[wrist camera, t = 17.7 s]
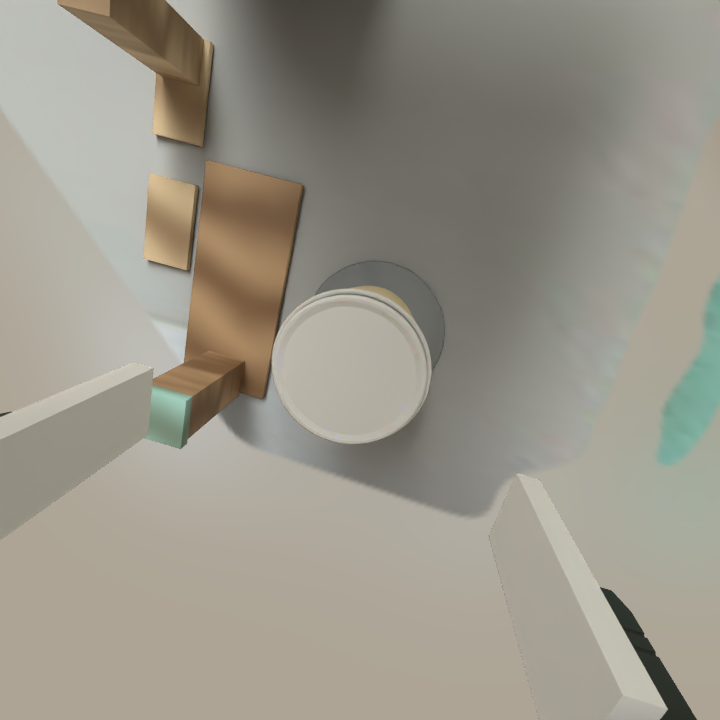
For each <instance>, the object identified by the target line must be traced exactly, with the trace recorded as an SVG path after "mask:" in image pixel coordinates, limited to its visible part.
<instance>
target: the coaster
mask: <svg viewBox="0 0 720 720" xmlns="http://www.w3.org/2000/svg"><path fill="white" fill-rule="evenodd" d="M359 286H377V287H381V288H385V289H387V290H389V291H391V292H393V293H395V294H396V295H397V296H398V297H400V298H401V299H402V300H403V302H404V303H405V304H406V305H407V307H408V308H409V310H410V312H411V314H412V316H413V318H414V320H415V322H416V323H417V325H418V326H419V328H420V330H421V331H422V333H423V335H424V337H425V340H426V342H427V345H428V348H429V351H430V357H431V366H432V369H433V367H434V366H435V364H436V362H437V360H438V358H439V356H440V353H441V350H442V346H443V342H444V320H443V315H442V312H441V308H440V306H439V303H438V301H437V299H436V297H435V296H434V294H433V292H432V291H431V289H430V288H429V287H428V286H427V285H426V284H425V282H423V281H422V280H421V279H420V278H419V277H418V276H416V275H415V274H414V273H412V272H411V271H409V270H407V269H405V268H403V267H401V266H398V265H395V264H391V263H386V262H376V261H372V262H363V263H358V264H354V265H351V266H349V267H346V268H344V269H342V270H340V271H338V272H337V273H335V274H334V275H332V276H331V277H330V278H329V279H328V280H327V281H326V282H325V283H323V285H322V286H321V287H320V288H319V290H318V291H317V293H316V294H315V296H316V295H318V294H321V293H324V292H327V291H331V290H337V289H348V288H353V287H359Z"/></svg>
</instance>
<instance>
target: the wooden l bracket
mask: <svg viewBox="0 0 720 720" xmlns="http://www.w3.org/2000/svg"><path fill="white" fill-rule="evenodd" d="M302 192H303V185H302V184H298V183H294V182H290V181H286V180H282V179H278V178H275V177H271V176H267V175H263V174H259V173H255V172H251V171H248V170H244V169H240V168H236V167H232V166H228V165H224V164H221V163H217V162H213V161H209V160H206V167H205V176H204V185H203V194H202V203H201V212H200V221H199V230H198V240H197V249H196V258H195V267H194V276H193V285H192V294H191V303H190V312H189V321H188V330H187V339H186V349H185V358H184V363H183V364H181V365H179V366H177V367H176V368H174V369H172V370H170V371H168V372H166V373H164V374H162V375H160V376H158V377H156V378H154V379H153V381H152V394H151V406H150V418H149V430H148V435H147V436H146V437H144V438H145V439H149V440H152V441H155V442H159V443H162V444H165V445H169V446H172V447H175V448H179V449H181V448H182V447H183V446H184V445H186V444H187V440H188V438H190V437H191V436H192V435H193V434H194V433H195V432H196V431H198V430H199V429H200V428H201V427H202V426H203V425H205V424H206V423H207V422H208V421H209V420H210V419H212V418H213V417H214V416H215V415H216V414H218V413H219V412H220V411H221V410H222V409H223V408H225V407H226V406H227V405H228V404H229V403H230V402H232V401H233V400H234V399H235V398H236V397H237V396H239V394H240V393H243V394H246V395H250V396H253V397H257V398H260V399H263V398H264V396H265V390H266V385H267V380H268V374H269V369H270V364H271V358H272V352H273V346H274V342H275V337H276V331H277V326H278V321H279V315H280V310H281V305H282V299H283V294H284V288H285V283H286V278H287V272H288V267H289V262H290V256H291V251H292V245H293V240H294V235H295V229H296V224H297V219H298V213H299V208H300V202H301V197H302Z"/></svg>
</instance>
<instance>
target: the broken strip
mask: <svg viewBox="0 0 720 720" xmlns="http://www.w3.org/2000/svg"><path fill="white" fill-rule="evenodd" d="M58 4H59V5H60V6H61V7H63V8H64V9H66V10H67V11H69V12H70V13H71V14H73V15H74V16H76V17H77V18H79V19H80V20H81V21H83V22H84V23H86V24H87V25H89V26H90V27H92V28H93V29H94V30H96V31H97V32H99V33H100V34H102V35H103V36H104V37H106V38H107V39H109V40H110V41H112V42H113V43H114V44H116V45H117V46H119V47H120V48H122V49H123V50H124V51H126V52H127V53H129V54H130V55H132V56H133V57H134V58H136V59H137V60H139V61H140V62H142V63H143V64H144V65H146V66H147V67H149V68H150V69H152V70H153V71H154V72H156V86H155V101H154V115H153V130H152V133H153V134H155V135H159V136H163V137H166V138H170V139H174V140H178V141H182V142H186V143H190V144H194V145H197V146H201V147H203V139H204V130H205V121H206V111H207V102H208V92H209V83H210V74H211V64H212V55H213V44H212V43H211V42H210V41H207V40H204V39H203V38H202V37H201V36H200V35H199V34H198V33H197V32H196V31H195V30H194V29H193V28H192V27H191V26H190V25H189V24H188V23H187V22H186V21H185V20H184V19H183V18H182V17H181V16H180V15H179V14H178V13H177V12H176V11H175V10H174V9H173V8H172V7H171V6H170V5H169V4H168V3H167V2H166V1H165V0H58ZM197 196H198V186H196V185H192V184H188V183H184V182H181V181H177V180H173V179H169V178H165V177H162V176H158V175H154V174H149V188H148V203H147V217H146V232H145V247H144V259H147V260H151V261H154V262H158V263H162V264H165V265H169V266H173V267H176V268H180V269H183V270H190V262H191V252H192V243H193V233H194V224H195V215H196V205H197Z"/></svg>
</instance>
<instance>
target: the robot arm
mask: <svg viewBox="0 0 720 720" xmlns="http://www.w3.org/2000/svg"><path fill="white" fill-rule="evenodd" d="M153 369H154V368H152V367H148V366H145V365H142V364H138V363H134V362H133V363H130V364H128V365H125V366H123V367H121V368H118V369H116V370H113V371H111V372H108V373H106V374H104V375H101V376H99V377H96V378H94V379H92V380H89V381H87V382H84V383H82V384H80V385H77V386H75V387H72V388H70V389H67V390H65V391H62V392H60V393H58V394H55V395H53V396H51V397H48V398H46V399H43V400H41V401H38V402H36V403H33V404H31V405H28V406H26V407H24V408H21V409H19V410H16V411H14V412H7V413H2V414H0V540H1V539H3V538H4V537H6V536H7V535H8V534H10V533H11V532H12V531H14V530H15V529H17V528H18V527H20V526H21V525H22V524H24V523H25V522H27V521H28V520H29V519H31V518H32V517H34V516H35V515H36V514H38V513H39V512H41V511H42V510H43V509H45V508H46V507H48V506H49V505H51V504H52V503H53V502H55V501H56V500H58V499H59V498H60V497H62V496H63V495H64V494H66V493H67V492H69V491H70V490H71V489H73V488H74V487H76V486H77V485H79V484H80V483H81V482H82V481H84V480H85V479H87V478H88V477H90V476H91V475H92V474H94V473H95V472H97V471H98V470H100V469H101V468H102V467H104V466H105V465H107V464H108V463H109V462H111V461H112V460H114V459H115V458H116V457H118V456H119V455H121V454H122V453H123V452H125V451H126V450H127V449H129V448H130V447H132V446H133V445H134V444H136V443H137V442H139V441H140V440H142V439H143V438H144V437H146V436H147V435H148V430H149V418H150V406H151V394H152V381H153ZM489 540H490V543H491V547H492V551H493V554H494V558H495V562H496V565H497V569H498V573H499V576H500V580H501V583H502V587H503V591H504V594H505V598H506V602H507V605H508V609H509V613H510V616H511V620H512V624H513V627H514V631H515V635H516V638H517V642H518V646H519V649H520V653H521V657H522V660H523V664H524V668H525V671H526V675H527V678H528V682H529V686H530V690H531V693H532V697H533V700H534V704H535V707H536V711H537V715H538V719H539V720H697V719H696V718H695V716H694V715H693V713H692V711H691V709H690V708H689V706H688V704H687V703H686V701H685V699H684V698H683V696H682V695H681V693H680V692H679V690H678V688H677V686H676V685H675V683H674V682H673V680H672V678H671V677H670V675H669V673H668V672H667V670H666V668H665V667H664V665H663V663H662V662H661V660H660V658H659V657H656V655H655V650H654V649H653V647H652V645H651V644H650V642H649V640H648V639H647V638H645V637H644V632H643V631H642V629H641V627H640V626H639V624H638V623H637V621H636V619H635V617H634V616H633V614H632V612H631V611H630V610H629V609H628V608H627V607H626V606H625V605H624V604H623V602H622V601H621V600H620V599H619V598H618V597H617V596H616V595H615V594H614V593H613V592H612V591H611V590H608V589H604V588H601V587H599V585H598V584H597V582H596V580H595V578H594V576H593V575H592V573H591V571H590V569H589V568H588V566H587V564H586V562H585V560H584V559H583V557H582V555H581V553H580V551H579V550H578V548H577V546H576V544H575V543H574V541H573V539H572V537H571V535H570V534H569V532H568V530H567V529H566V527H565V525H564V523H563V521H562V519H561V518H560V516H559V514H558V512H557V510H556V509H555V507H554V505H553V503H552V501H551V500H550V498H549V496H548V494H547V493H546V491H545V489H544V487H543V486H542V484H541V482H540V480H539V479H536V478H532V477H529V476H525V475H522V474H519V473H517V474H516V476H515V478H514V481H513V483H512V485H511V487H510V490H509V492H508V494H507V496H506V499H505V501H504V503H503V505H502V508H501V510H500V512H499V514H498V516H497V519H496V521H495V523H494V525H493V528H492V530H491V532H490V535H489Z"/></svg>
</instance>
